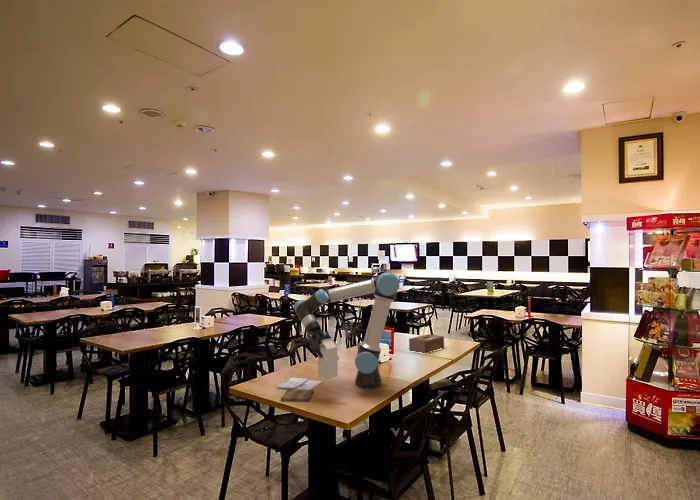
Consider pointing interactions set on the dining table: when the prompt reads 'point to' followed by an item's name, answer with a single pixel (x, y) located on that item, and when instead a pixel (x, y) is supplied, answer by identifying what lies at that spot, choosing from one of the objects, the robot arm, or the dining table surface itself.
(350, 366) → the dining table surface
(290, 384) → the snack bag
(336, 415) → the dining table surface
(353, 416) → the dining table surface
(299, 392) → the walnut board
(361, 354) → the robot arm
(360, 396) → the dining table surface
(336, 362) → the milk carton
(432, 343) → the tissue box cover
